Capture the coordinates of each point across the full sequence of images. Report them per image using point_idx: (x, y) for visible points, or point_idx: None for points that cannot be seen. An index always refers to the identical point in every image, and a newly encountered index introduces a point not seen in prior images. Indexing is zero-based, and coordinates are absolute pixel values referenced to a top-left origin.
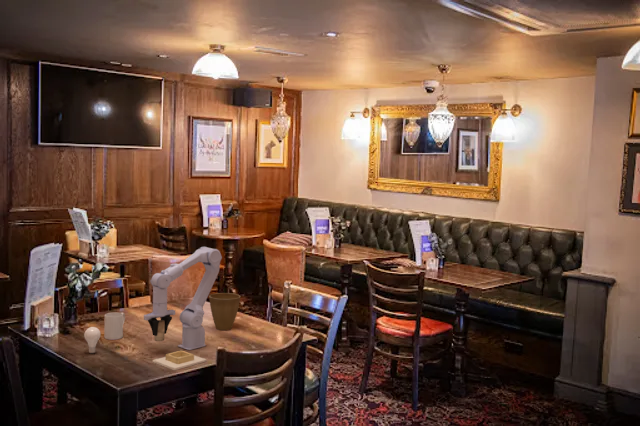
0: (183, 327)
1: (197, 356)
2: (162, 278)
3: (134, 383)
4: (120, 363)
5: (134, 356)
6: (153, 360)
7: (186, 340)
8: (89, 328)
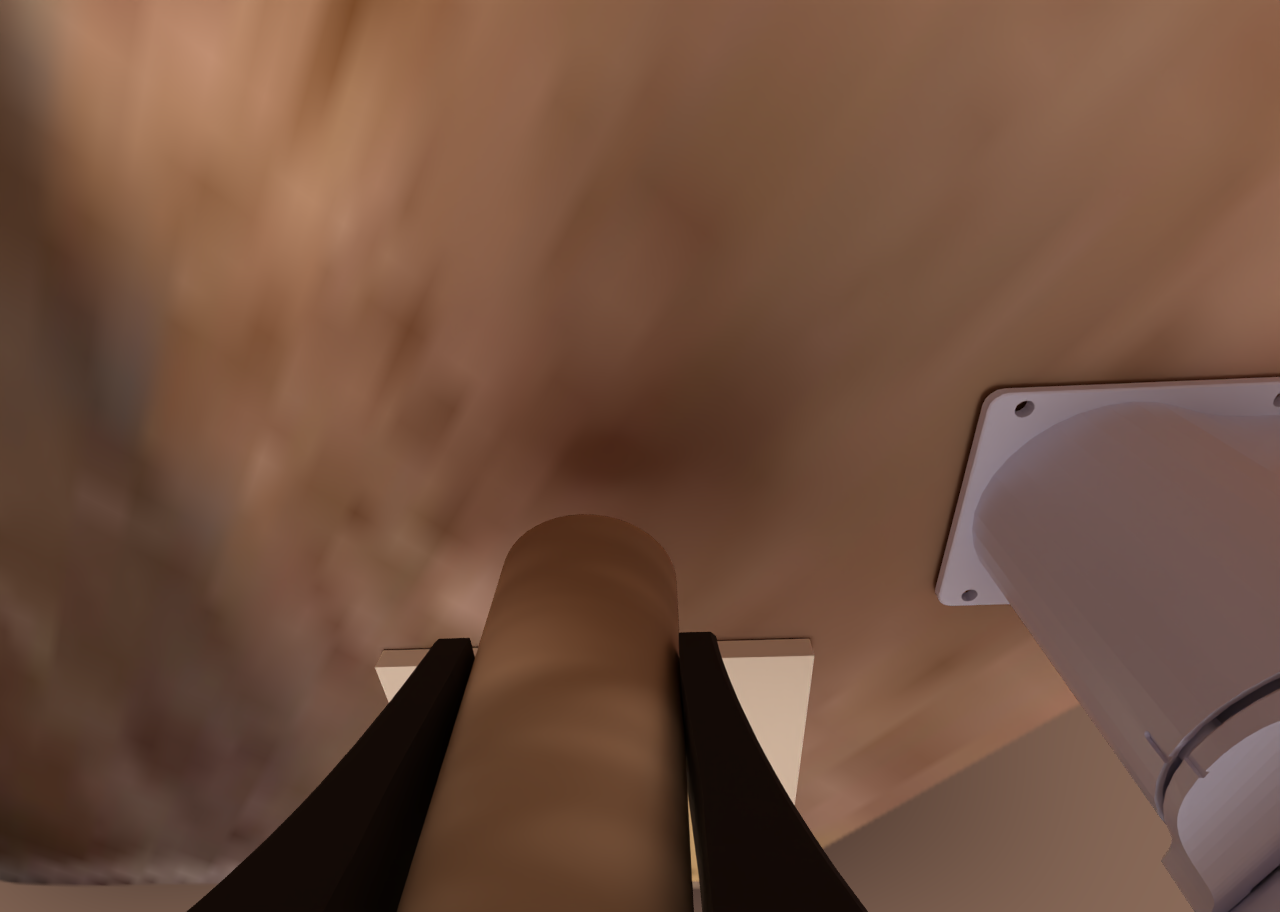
0: (1195, 752)
1: (793, 793)
2: None
3: (100, 868)
4: (23, 505)
5: (250, 386)
6: (379, 677)
7: (1024, 619)
8: None
